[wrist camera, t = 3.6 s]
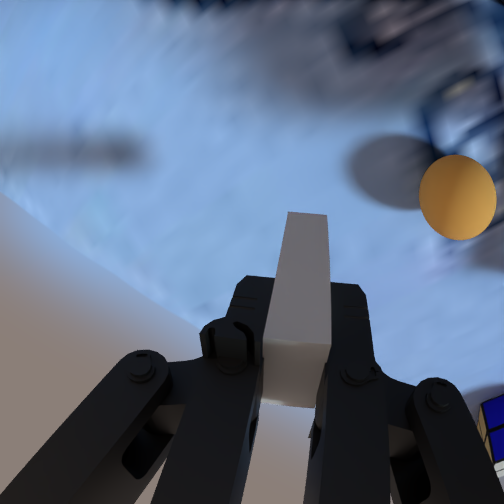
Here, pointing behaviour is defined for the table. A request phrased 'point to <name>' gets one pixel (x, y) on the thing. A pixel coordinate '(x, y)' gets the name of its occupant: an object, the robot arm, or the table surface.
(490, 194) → the ball
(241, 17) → the table surface
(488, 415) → the puzzle cube
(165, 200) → the table surface
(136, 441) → the robot arm
